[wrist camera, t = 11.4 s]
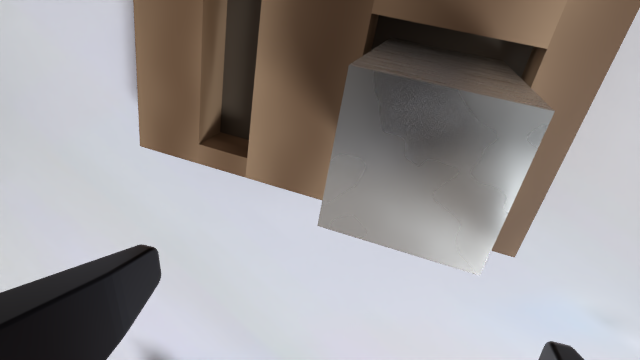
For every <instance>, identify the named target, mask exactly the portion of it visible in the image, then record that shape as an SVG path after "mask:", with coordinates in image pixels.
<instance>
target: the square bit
mask: <svg viewBox="0 0 640 360" xmlns="http://www.w3.org/2000/svg"><path fill="white" fill-rule="evenodd" d="M554 112H555V111H554V110H553V109H552V108H551V107H550V106H549V105H548V104H547V103H546V102H545V101H544V100H543V99H542V98H541V97H540V96H539V95H538V94H537V93H536V92H535V91H534V90H533V89H531V88H530V87H529V86H528V85H527V84H526V83H525V82H524V81H523V80H522V79H521V78H520V77H519V76H518V75H517V74H516V73H515V72H514V71H513V70H512V69H511V68H510V67H509V66H508V65H507V64H506V63H505V62H504V61H500V60H495V59H490V58H485V57H480V56H476V55H471V54H466V53H461V52H456V51H451V50H447V49H442V48H437V47H432V46H427V45H423V44H418V43H413V42H408V41H403V40H399V39H394V38H390V39H388V40H387V41H385V42H384V43H382V44H380V45H379V46H377V47H376V48H374V49H373V50H371V51H370V52H368V53H367V54H365V55H363V56H362V57H360V58H359V59H357V60H356V61H354V62H353V63H351V64H350V65H349V67H348V72H347V78H346V83H345V88H344V93H343V98H342V103H341V108H340V113H339V119H338V124H337V129H336V134H335V139H334V144H333V149H332V154H331V159H330V165H329V170H328V175H327V180H326V185H325V190H324V195H323V200H322V205H321V211H320V216H319V221H318V226H320V227H323V228H326V229H330V230H333V231H336V232H339V233H343V234H346V235H349V236H352V237H356V238H359V239H362V240H365V241H369V242H372V243H375V244H379V245H382V246H385V247H388V248H392V249H395V250H398V251H401V252H405V253H408V254H411V255H414V256H418V257H421V258H424V259H427V260H431V261H434V262H437V263H440V264H444V265H447V266H450V267H453V268H457V269H460V270H463V271H466V272H470V273H473V274H476V275H479V276H480V274H481V272H482V270H483V268H484V265H485V263H486V261H487V259H488V257H489V254H490V252H491V250H492V248H493V246H494V244H495V241H496V239H497V237H498V235H499V233H500V230H501V228H502V226H503V224H504V222H505V219H506V217H507V215H508V213H509V211H510V208H511V206H512V204H513V202H514V200H515V197H516V195H517V193H518V191H519V189H520V187H521V184H522V182H523V180H524V178H525V176H526V173H527V171H528V169H529V167H530V165H531V162H532V160H533V158H534V156H535V154H536V151H537V149H538V147H539V145H540V143H541V140H542V138H543V136H544V134H545V132H546V130H547V127H548V125H549V123H550V121H551V119H552V116H553V114H554Z"/></svg>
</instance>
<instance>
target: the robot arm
mask: <svg viewBox="0 0 640 360" xmlns="http://www.w3.org/2000/svg"><path fill="white" fill-rule="evenodd" d="M160 278H161V268H160V261H159V255H158V251H157V249H156V248H154V247H151V246H147V245H137V246H134V247H131V248H128V249H126V250H123V251H120V252H117V253H114V254H111V255H108V256H105V257H102V258H100V259H97V260H94V261H91V262H88V263H85V264H82V265H79V266H76V267H74V268H71V269H68V270H65V271H62V272H59V273H56V274H53V275H50V276H48V277H45V278H42V279H39V280H36V281H33V282H30V283H27V284H24V285H22V286H19V287H16V288H13V289H10V290H7V291H4V292H1V293H0V360H106V359H107V358H108V357H109V355H110V354H111V353H112V352H113V350H114V349H115V348H116V347H117V345H118V344H119V343H120V341H121V340H122V339H123V337H124V336H125V335H126V333H127V332H128V330H129V329H130V327H131V326H132V324H133V323H134V321H135V319H136V318H137V316H138V315H139V313H140V312H141V310H142V309H143V307H144V305H145V304H146V302H147V301H148V299H149V298H150V296H151V295H152V293H153V291H154V290H155V288H156V287H157V285H158V283H159V281H160ZM539 360H584V359H583V358H582V357H581V356H580V355H579V354H578V353H577V352H576V350H575V349H573V348H572V347H571V346H568V345H565V344H561V343H557V342H552V341H550V342H547V343H546V344H545V346H544V348H543V350H542V353H541V355H540V357H539Z"/></svg>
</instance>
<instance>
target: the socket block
mask: <svg viewBox="0 0 640 360" xmlns="http://www.w3.org/2000/svg"><path fill="white" fill-rule="evenodd" d="M133 2H134V24H135V46H136V67H137V89H138V111H139V133H140V146H142V147H145V148H148V149H152V150H155V151H158V152H162V153H165V154H168V155H172V156H175V157H179V158H182V159H185V160H189V161H192V162H195V163H199V164H202V165H205V166H209V167H212V168H215V169H219V170H222V171H226V172H229V173H232V174H236V175H239V176H242V177H246V178H249V179H252V180H256V181H259V182H263V183H266V184H269V185H273V186H276V187H279V188H283V189H286V190H289V191H293V192H296V193H300V194H303V195H306V196H310V197H313V198H316V199H320V200H323V195H324V190H325V185H326V180H327V175H328V170H329V165H330V159H331V154H332V149H333V144H334V139H335V134H336V129H337V124H338V119H339V113H340V108H341V103H342V98H343V93H344V88H345V83H346V78H347V72H348V67H349V65H350V64H351V63H353V62H354V61H356V60H357V59H359V58H360V57H362V56H363V55H365V54H367V53H368V52H370V51H371V50H373V49H374V48H376V47H377V46H379V45H380V44H382V43H384V42H385V41H387V40H388V39H390V38H394V39H399V40H403V41H408V42H413V43H418V44H423V45H427V46H432V47H437V48H442V49H447V50H451V51H456V52H461V53H466V54H471V55H476V56H480V57H485V58H490V59H495V60H500V61H504V62H505V63H506V64H507V65H508V66H509V67H510V68H511V69H512V70H513V71H514V72H515V73H516V74H517V75H518V76H519V77H520V78H521V79H522V80H523V81H524V82H525V83H526V84H527V85H528V86H529V87H530V88H531V89H533V90H534V91H535V92H536V93H537V94H538V95H539V96H540V97H541V98H542V99H543V100H544V101H545V102H546V103H547V104H548V105H549V106H550V107H551V108H552V109H553V110H554V111H555V112H554V114H553V116H552V119H551V121H550V123H549V125H548V127H547V130H546V132H545V134H544V136H543V138H542V140H541V143H540V145H539V147H538V149H537V151H536V154H535V156H534V158H533V160H532V162H531V165H530V167H529V169H528V171H527V173H526V176H525V178H524V180H523V182H522V184H521V187H520V189H519V191H518V193H517V195H516V197H515V200H514V202H513V204H512V206H511V208H510V211H509V213H508V215H507V217H506V219H505V222H504V224H503V226H502V228H501V230H500V233H499V235H498V237H497V239H496V241H495V244H494V246H493V248H492V250H491V251H495V252H498V253H501V254H505V255H508V256H511V257H515V256H516V254H517V252H518V250H519V248H520V246H521V244H522V242H523V240H524V238H525V236H526V234H527V232H528V230H529V228H530V226H531V224H532V222H533V220H534V218H535V216H536V214H537V212H538V210H539V208H540V206H541V204H542V202H543V200H544V198H545V196H546V194H547V192H548V190H549V188H550V186H551V184H552V182H553V180H554V178H555V176H556V174H557V172H558V170H559V168H560V166H561V164H562V162H563V160H564V158H565V156H566V154H567V152H568V150H569V148H570V146H571V144H572V142H573V140H574V138H575V136H576V134H577V132H578V130H579V128H580V126H581V124H582V122H583V120H584V118H585V116H586V114H587V112H588V110H589V108H590V106H591V104H592V102H593V100H594V98H595V96H596V94H597V92H598V90H599V88H600V86H601V84H602V82H603V80H604V78H605V76H606V74H607V72H608V70H609V68H610V66H611V64H612V62H613V60H614V58H615V56H616V54H617V52H618V50H619V48H620V46H621V44H622V42H623V40H624V38H625V36H626V34H627V32H628V30H629V28H630V26H631V24H632V22H633V20H634V18H635V16H636V14H637V12H638V10H639V8H640V0H133Z"/></svg>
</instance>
